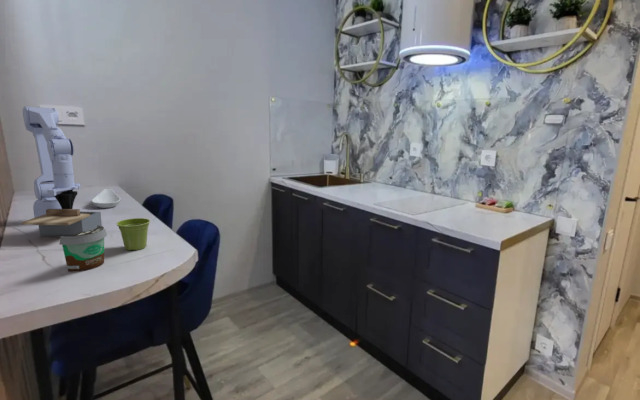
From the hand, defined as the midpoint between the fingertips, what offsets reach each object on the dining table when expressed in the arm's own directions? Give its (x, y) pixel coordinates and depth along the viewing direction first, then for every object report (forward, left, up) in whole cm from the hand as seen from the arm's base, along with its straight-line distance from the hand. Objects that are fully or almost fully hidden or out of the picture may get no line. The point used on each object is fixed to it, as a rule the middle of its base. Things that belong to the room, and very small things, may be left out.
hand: (67, 212), depth 119 cm
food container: (+24, -31, -8) cm, 40 cm away
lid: (0, -5, -2) cm, 6 cm away
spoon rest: (-10, +47, -8) cm, 49 cm away
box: (0, +1, -8) cm, 8 cm away
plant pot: (+29, -16, -8) cm, 34 cm away
